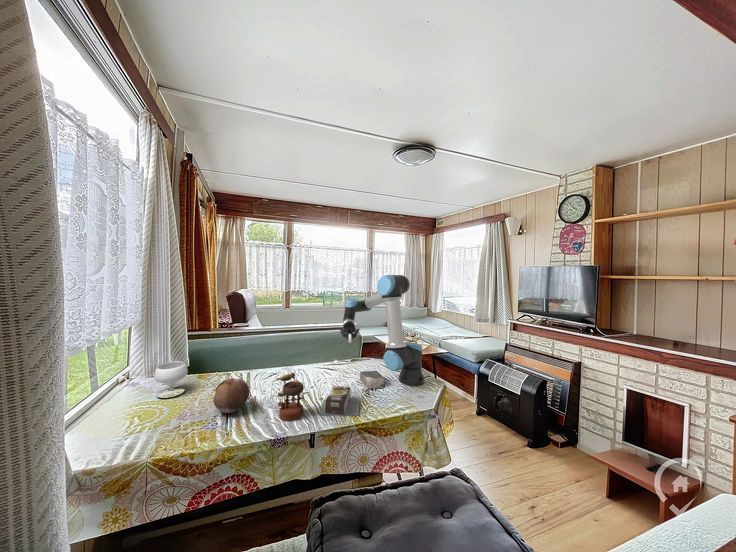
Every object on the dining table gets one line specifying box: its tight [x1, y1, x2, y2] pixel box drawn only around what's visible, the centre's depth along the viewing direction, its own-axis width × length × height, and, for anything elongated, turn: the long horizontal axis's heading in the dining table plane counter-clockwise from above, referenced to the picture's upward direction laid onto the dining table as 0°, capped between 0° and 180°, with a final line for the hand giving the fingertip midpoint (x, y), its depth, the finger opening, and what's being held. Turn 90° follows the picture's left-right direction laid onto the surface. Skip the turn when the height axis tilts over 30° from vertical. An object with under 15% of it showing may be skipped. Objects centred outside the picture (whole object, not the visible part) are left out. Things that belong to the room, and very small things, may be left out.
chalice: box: [153, 360, 189, 391], centre depth 142 cm, size 14×14×15 cm
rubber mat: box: [318, 399, 360, 417], centre depth 133 cm, size 18×14×1 cm
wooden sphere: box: [212, 377, 250, 414], centre depth 128 cm, size 15×15×15 cm
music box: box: [275, 372, 310, 422], centre depth 126 cm, size 15×11×20 cm
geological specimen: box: [359, 370, 385, 389], centre depth 163 cm, size 11×6×15 cm
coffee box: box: [325, 384, 351, 415], centre depth 134 cm, size 9×6×16 cm
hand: (350, 340), depth 155 cm, fingers closed
